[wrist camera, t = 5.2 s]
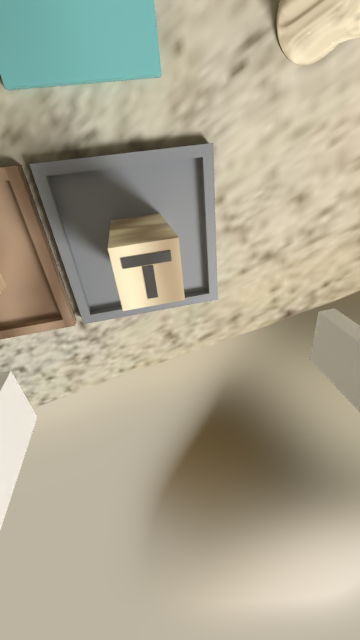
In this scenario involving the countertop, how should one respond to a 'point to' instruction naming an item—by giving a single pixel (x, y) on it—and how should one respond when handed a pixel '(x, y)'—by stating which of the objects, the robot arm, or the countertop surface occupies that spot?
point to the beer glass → (315, 27)
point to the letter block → (145, 261)
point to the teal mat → (77, 42)
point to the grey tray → (126, 202)
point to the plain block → (2, 284)
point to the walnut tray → (27, 265)
